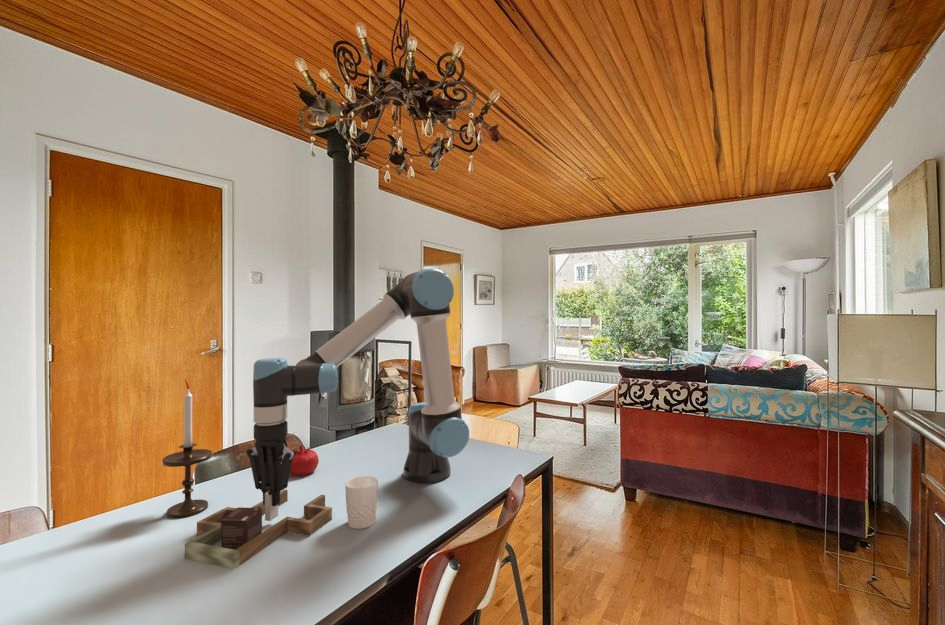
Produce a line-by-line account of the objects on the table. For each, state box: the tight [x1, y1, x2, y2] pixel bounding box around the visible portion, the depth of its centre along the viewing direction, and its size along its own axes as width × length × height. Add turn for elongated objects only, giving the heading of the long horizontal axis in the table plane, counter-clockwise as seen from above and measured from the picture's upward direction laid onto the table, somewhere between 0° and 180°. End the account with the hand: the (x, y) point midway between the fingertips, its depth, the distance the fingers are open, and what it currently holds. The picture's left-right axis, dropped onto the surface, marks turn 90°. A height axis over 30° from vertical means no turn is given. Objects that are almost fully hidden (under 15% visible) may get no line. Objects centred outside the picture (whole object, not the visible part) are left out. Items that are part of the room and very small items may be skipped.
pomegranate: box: [290, 444, 320, 477], centre depth 137 cm, size 10×10×9 cm
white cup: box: [344, 475, 379, 530], centre depth 104 cm, size 8×8×10 cm
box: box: [220, 506, 263, 550], centre depth 93 cm, size 6×6×7 cm
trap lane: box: [183, 489, 333, 570], centre depth 100 cm, size 26×29×3 cm
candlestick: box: [162, 378, 213, 519], centre depth 111 cm, size 11×11×35 cm
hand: (271, 518), depth 103 cm, fingers closed
